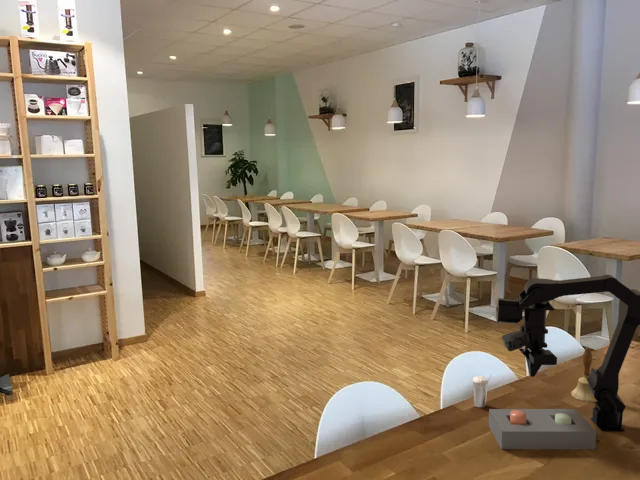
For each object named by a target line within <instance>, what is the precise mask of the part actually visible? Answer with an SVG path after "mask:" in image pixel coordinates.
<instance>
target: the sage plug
mask: <svg viewBox="0 0 640 480" xmlns="http://www.w3.org/2000/svg"><path fill="white" fill-rule="evenodd" d="M555 422H556V423H557V425H571V417H570V416H569V415H567V414H563V413H558V414H556V415H555Z"/></svg>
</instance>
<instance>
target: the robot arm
mask: <svg viewBox="0 0 640 480" xmlns="http://www.w3.org/2000/svg"><path fill="white" fill-rule="evenodd" d="M523 287H524V288H523V289H522V291H521V292H520V293H519V294H518V295H517V297H516V299H512V298H511V299H510V298H509V299H508V298H507V299H506V298H502V297H500V298H497V304H496V307H495V311H496V312H495V318H496V319H495V321H496V323H501V324H519V323H521V321H522V320H523V324H521V326H520V327H519V330H517V331H512V332H509V333H506V334H503V335H502V336H501V339H502V342H503V345H504V347H505V349H507V351H508V352H514V351H516V350H518V351H520V352H521V353H522V355H523V356H524V358H525V360H526V365H527V369H528V374H529V376H530V377H531V378H534V377H536V375H537V373H538V372H539V370H540V369H541V367H542V366H556V365H558V357H557V356H556V355H555V354H554V353H553V352H552V350H550V349H547V348H548V343H547V342H546V335H547V334H549V330H548V328H546V325H547V311H550V312H551V311H553V312H554V311H555V307H554V306H553V304H551V302H550V301H553V300H555V299H558V298H561V297H566V296H567V297H568V296H576V295H587V294H597V293H605V292H607V293H610V294H612V295H613V296H614V297H616V298H617V299H618V300H619V306H618V320H617V321H618V322H617V324H616V327H615V330H614V333H613V335H612V337H611V340H610V343H609V345H608V348H607V351H606V353H605V356H604V358H603V361H602V362H601V363H602V364H601V365H600V367H598V368H597V369H595V368H594V367H591V369H590V373H589V374H590V376H589V378H588V379H587V381H588V387H589V389H590V391H591V392H592V394H593V396H594V397H595V399H596V400H597V402H594V407H593V408H592V417H591V418H590V420H591V422H592V423H594V424H595V426H596V428H598V429H599V430H600V431H602V432H624V431H625V430H626V429H625V427H624V426H623V414H624V411H625V409H626V408H627V407H626V406H627V405H626V404H625V402H623V400H622V398H621V397H620V395H619V394H618V392H619V387H620V386H619V379H620V378H619V377H620V376H619V374H620V372H621V369H622V366H623V364H624V361H625V359H626V356H627V354H628V352H629V349H630V346H631V344H632V341H633V339H634V336H635V334H636V331H637V329H638V327H639V326H640V290H638V289H633V288H629V287H627V286H626V285H624V284H623V283H622V282H621V281H619V279H617V278H616V277H615V276H613V275H611V274H604V275H599V276H588V277H587V276H586V277H579V278H572V279H571V278H570V279H560V280H558V279H550V278H535V277H534V278H530V279H528V280H527V281H526V283H524V286H523ZM523 311H524V314H523ZM545 348H546V349H545Z"/></svg>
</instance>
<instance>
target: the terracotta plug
mask: <svg viewBox="0 0 640 480" xmlns="http://www.w3.org/2000/svg"><path fill="white" fill-rule="evenodd" d="M510 423H511V425H526V414H525V413H524V412H523V411H519V410H513V411H511V412H510Z"/></svg>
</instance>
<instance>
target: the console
mask: <svg viewBox="0 0 640 480" xmlns="http://www.w3.org/2000/svg"><path fill="white" fill-rule="evenodd" d="M513 410H519V411H523V412H524V413H525V414H526V425H511V423H510V412H511V411H513ZM558 413H563V414H567V415H569V416H570V417H571V425H557V423H556V422H555V415H556V414H558ZM488 427H489V429H490V430H491V432H492V435H493V436H494V438H495V440H496V442H497V445H498V446H499V447H500V450H596V441H597V430H596V429H595V428H594V427H593V426H592V425H591V424H590V422H588V420H586V418H585V417H584V416H583V415H582V414H581V413H580V412H579V411H578V410H577V409H576V408H489V410H488Z"/></svg>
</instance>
